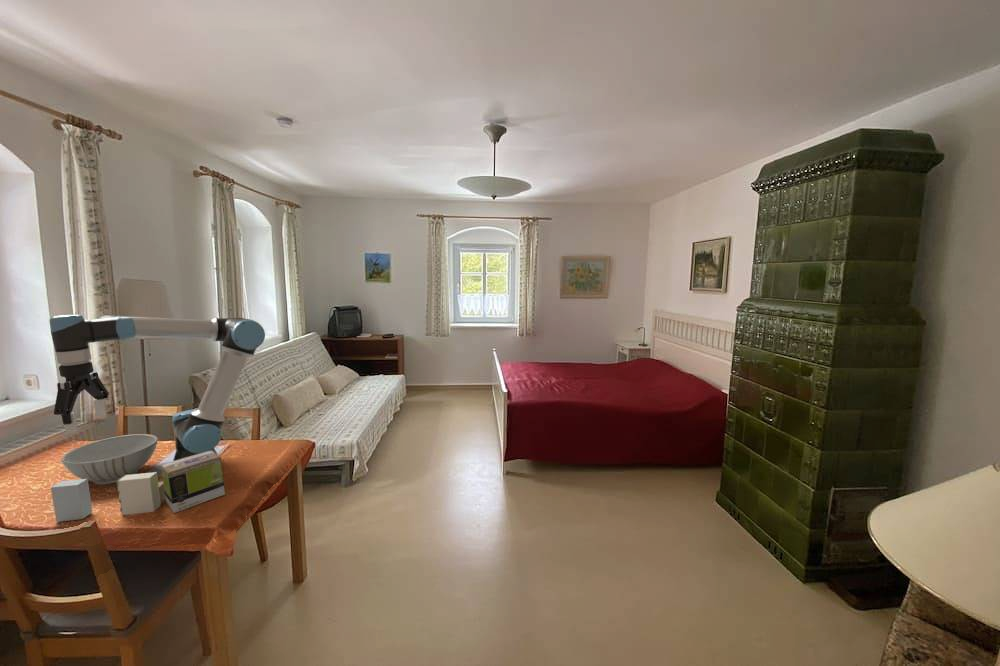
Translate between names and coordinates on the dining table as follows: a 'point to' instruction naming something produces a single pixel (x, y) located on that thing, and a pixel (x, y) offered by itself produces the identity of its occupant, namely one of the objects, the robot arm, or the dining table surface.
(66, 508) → the stub
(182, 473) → the tea box
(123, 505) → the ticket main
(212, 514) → the dining table surface
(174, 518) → the dining table surface
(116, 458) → the decorative bowl
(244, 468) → the dining table surface
